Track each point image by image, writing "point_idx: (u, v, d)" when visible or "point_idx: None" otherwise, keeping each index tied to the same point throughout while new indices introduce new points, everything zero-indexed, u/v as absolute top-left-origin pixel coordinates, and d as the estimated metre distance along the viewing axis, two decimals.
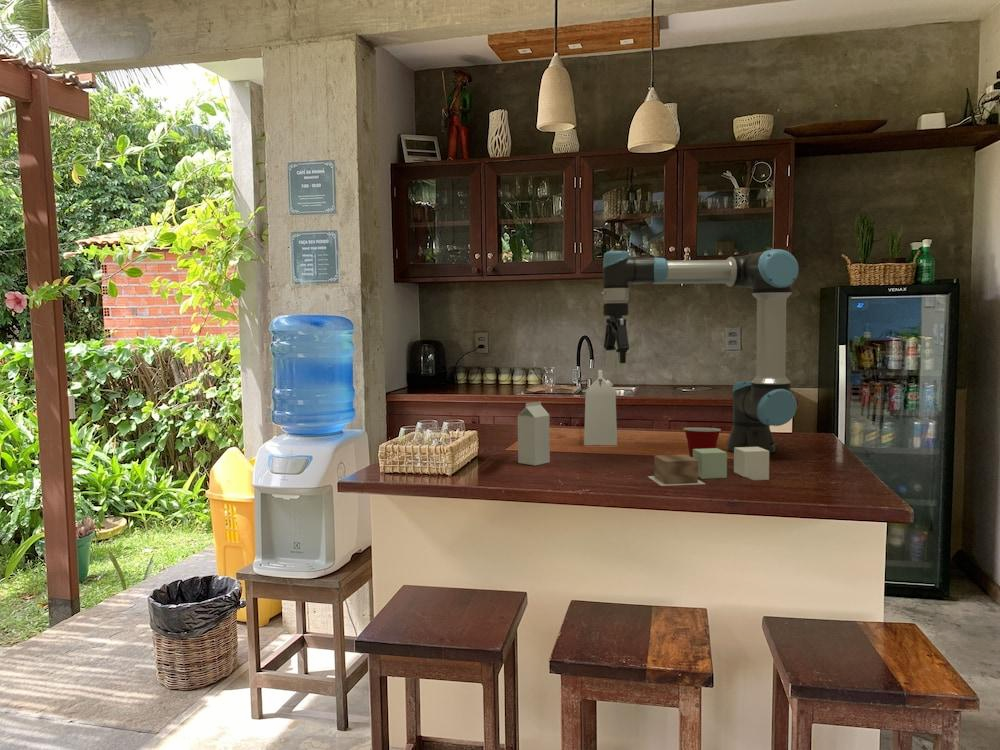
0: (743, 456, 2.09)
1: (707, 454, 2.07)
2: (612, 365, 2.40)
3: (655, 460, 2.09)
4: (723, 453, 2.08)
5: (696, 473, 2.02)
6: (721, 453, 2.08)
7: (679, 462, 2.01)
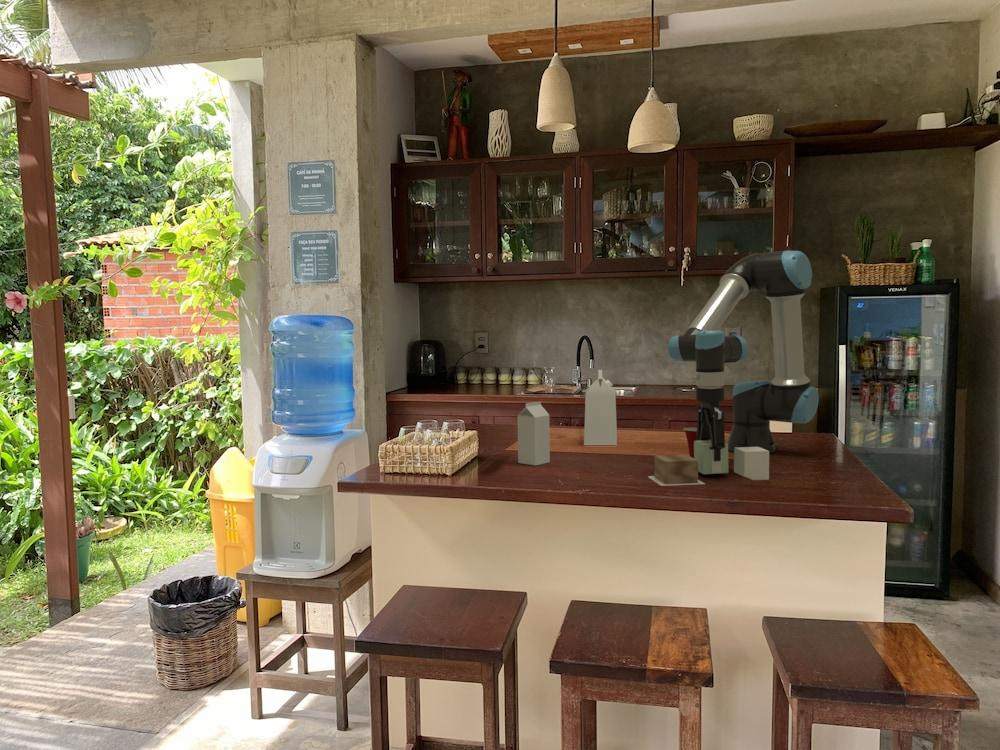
0: (743, 456, 2.09)
1: (708, 446, 2.07)
2: None
3: (655, 460, 2.09)
4: None
5: (696, 473, 2.02)
6: None
7: (679, 462, 2.01)
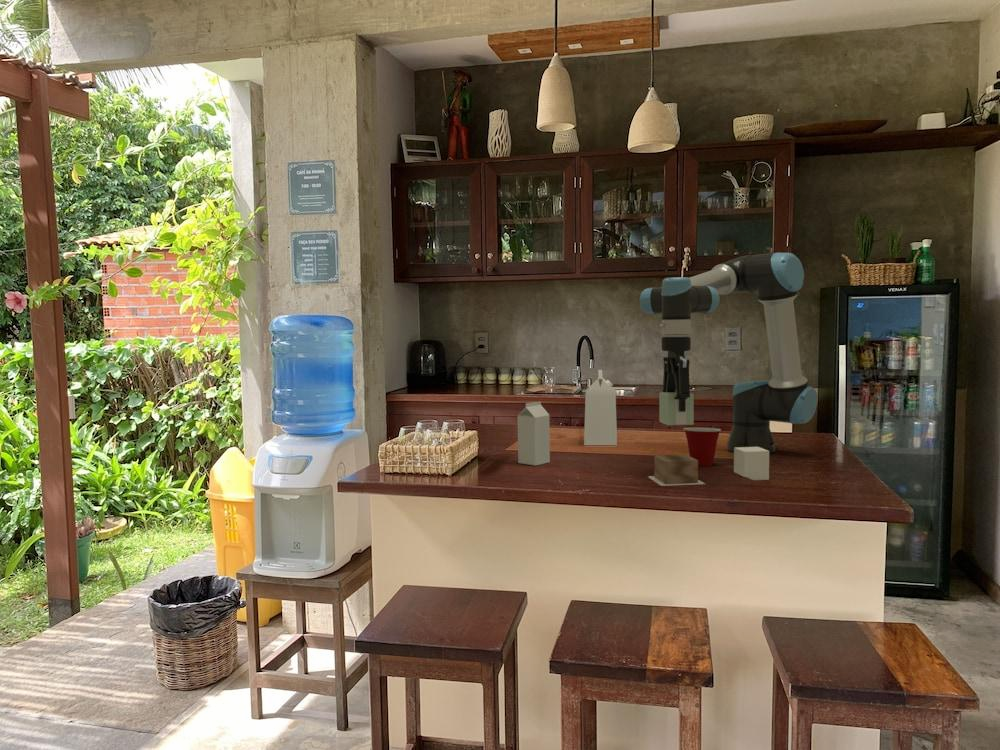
0: (743, 456, 2.09)
1: (673, 396, 2.01)
2: None
3: (655, 460, 2.09)
4: (690, 395, 2.01)
5: (696, 473, 2.02)
6: None
7: (679, 462, 2.01)
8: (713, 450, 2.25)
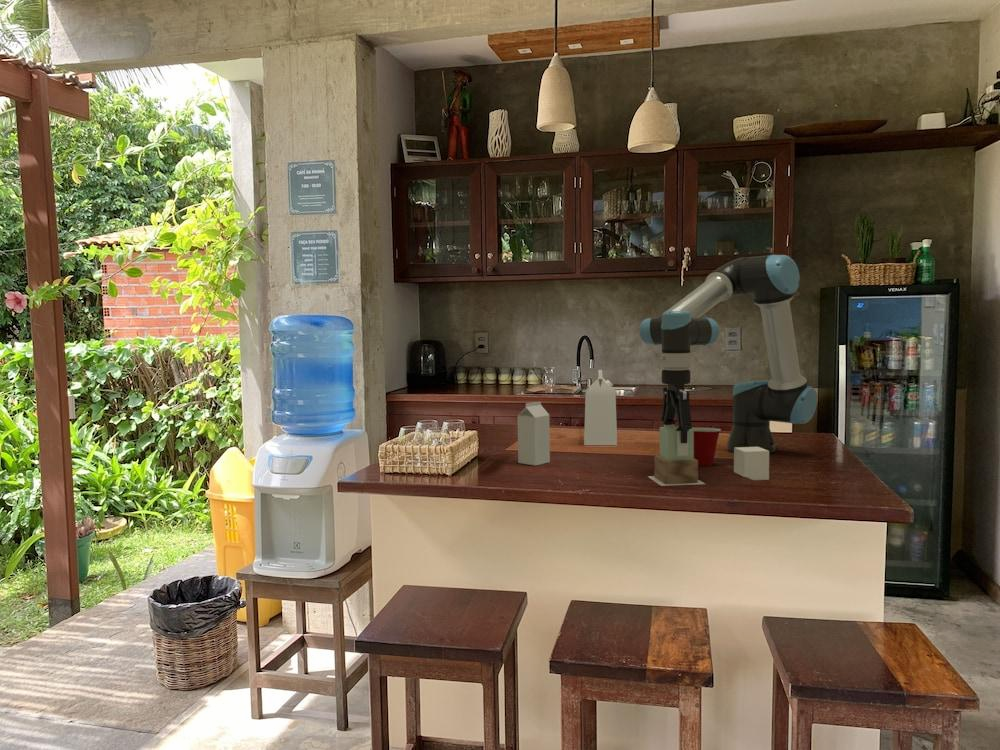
0: (743, 456, 2.09)
1: (673, 431, 2.02)
2: None
3: (655, 460, 2.09)
4: (690, 430, 2.02)
5: (696, 473, 2.02)
6: None
7: (679, 462, 2.01)
8: (713, 450, 2.25)
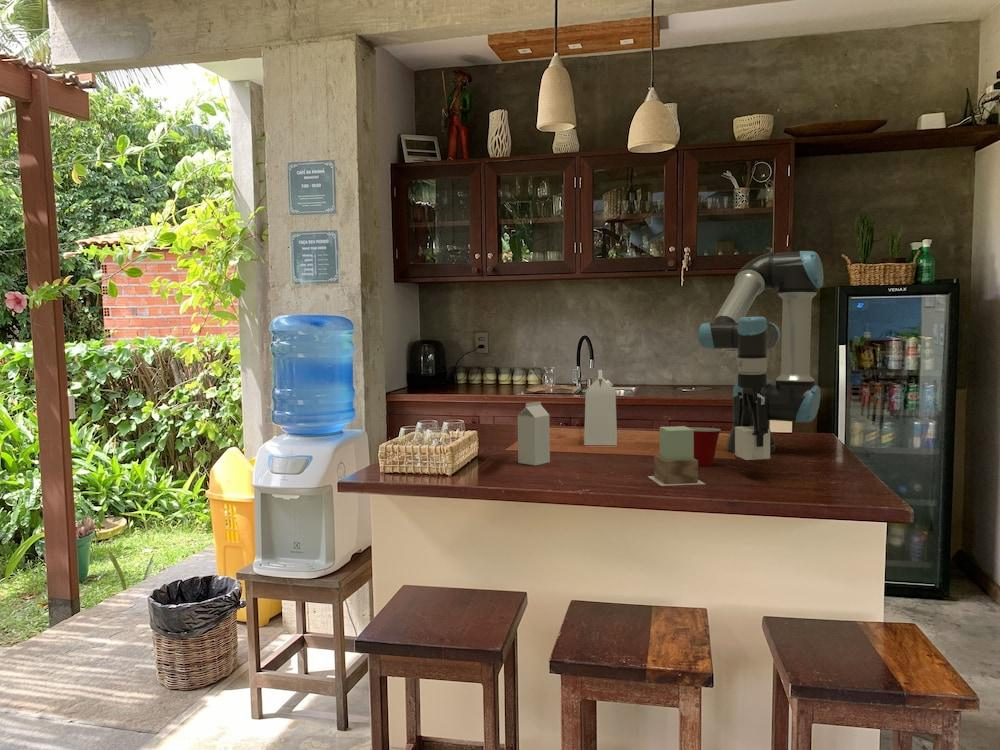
0: (744, 435, 2.09)
1: (673, 431, 2.02)
2: None
3: (655, 460, 2.09)
4: (690, 430, 2.02)
5: (696, 473, 2.02)
6: (688, 430, 2.02)
7: (679, 462, 2.01)
8: (713, 450, 2.25)
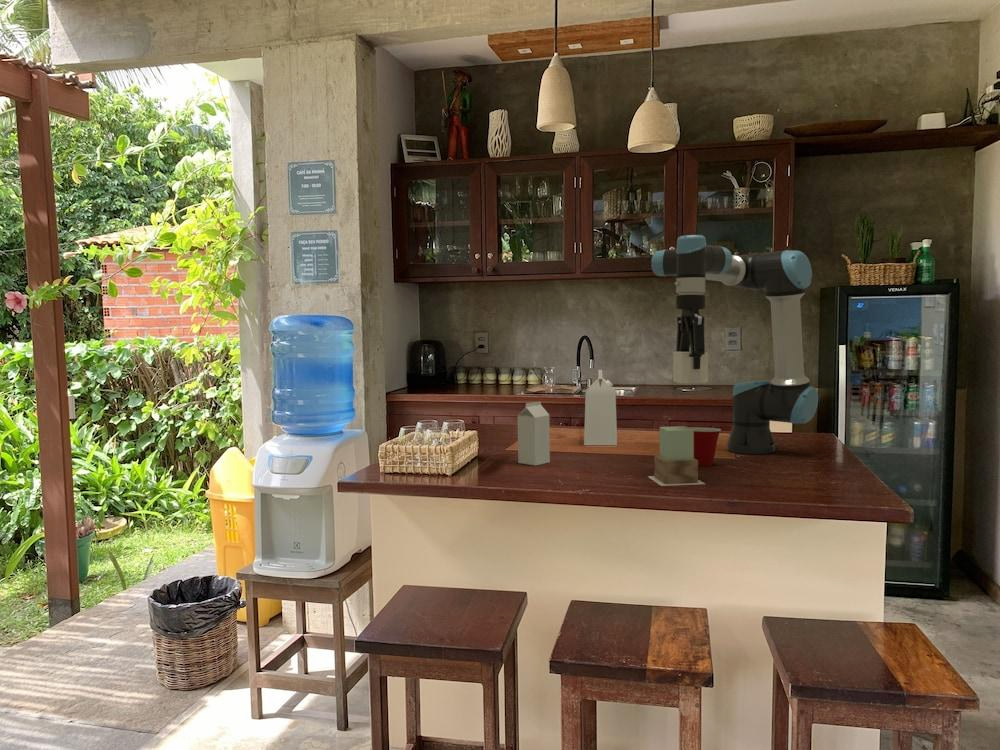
0: (681, 358, 2.02)
1: (673, 431, 2.02)
2: None
3: (655, 460, 2.09)
4: (690, 430, 2.02)
5: (696, 473, 2.02)
6: (688, 430, 2.02)
7: (679, 462, 2.01)
8: (713, 450, 2.25)
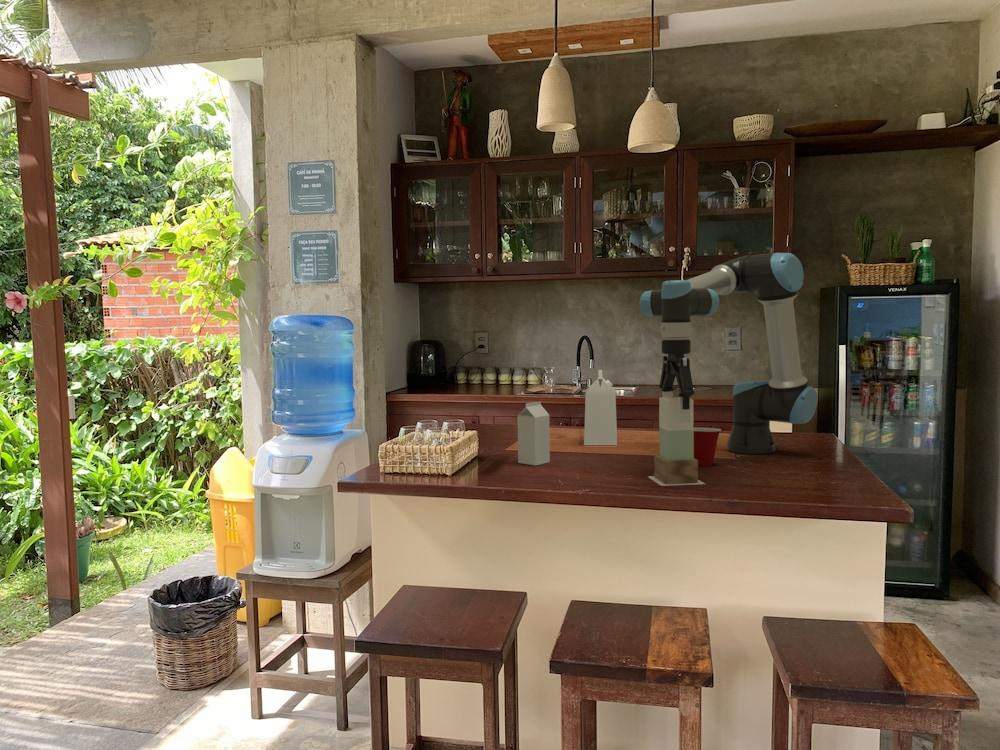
0: (666, 405, 2.02)
1: (673, 431, 2.02)
2: None
3: (655, 460, 2.09)
4: (690, 430, 2.02)
5: (696, 473, 2.02)
6: (688, 430, 2.02)
7: (679, 462, 2.01)
8: (713, 450, 2.25)
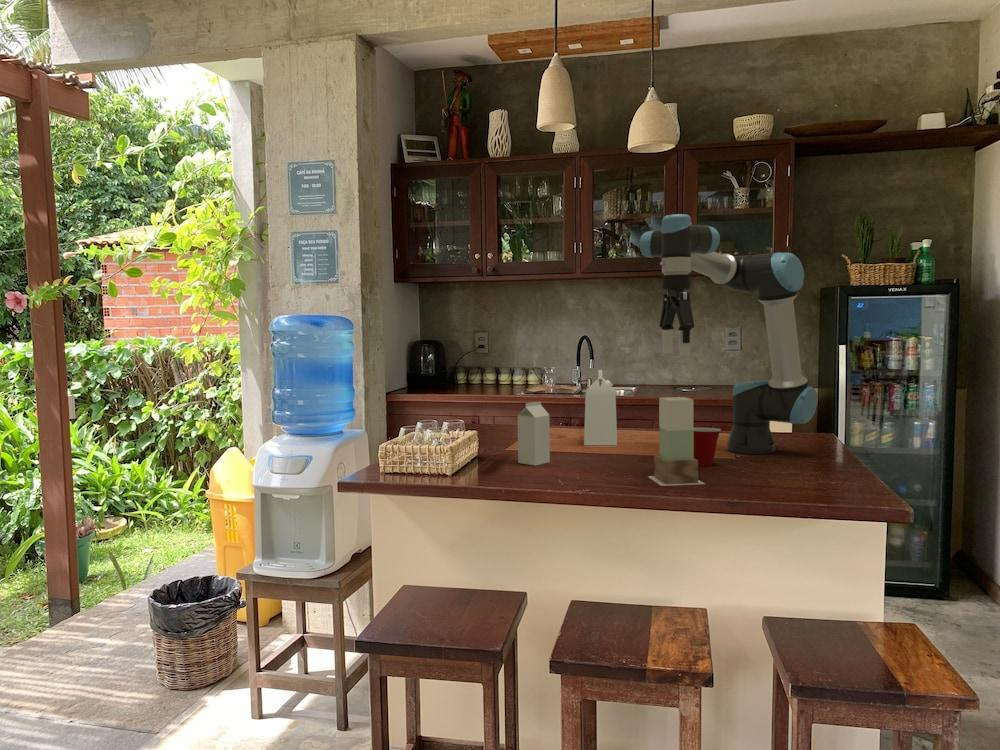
0: (666, 405, 2.02)
1: (673, 431, 2.02)
2: (670, 347, 2.10)
3: (655, 460, 2.09)
4: (690, 430, 2.02)
5: (696, 473, 2.02)
6: (688, 430, 2.02)
7: (679, 462, 2.01)
8: (713, 450, 2.25)
